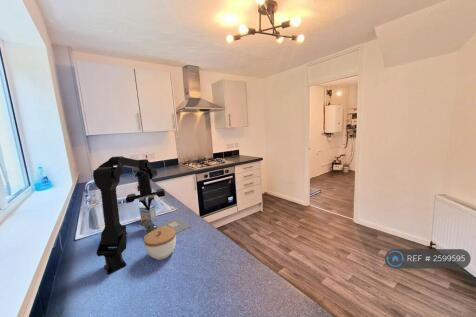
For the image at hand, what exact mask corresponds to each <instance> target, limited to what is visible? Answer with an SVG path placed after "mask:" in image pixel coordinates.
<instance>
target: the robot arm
mask: <svg viewBox="0 0 476 317" xmlns="http://www.w3.org/2000/svg"><path fill="white" fill-rule="evenodd" d="M124 168H129V169H130V168H131V170H133V171H136V173H135V174H134V177H135V178H137V184H138V185H137V191H138V192H139V194H136V193H131V194H130V193H129V194H127V195H126V197H125V203H126V204H128V203H134V202H135V200H138V202H139V203H142V206H143V205H144V206H145V207H146V209H147V210H148V211H149V210H150V205H151V204H152V201H153V200H155V197H158V198H161V197H165V196H166V191H165V189H164V188H160V189H159V188H158V189H156V191H153V189H152V186H151V185H152V184H151V180H152V179H154V178H156V177H157V176H158V171H157V169H155V168H154V166H152V164H151V162H150V161H149V159H145V158H144V159H134V158H129V157H124V156H123V155H120V156H119V155H118V156H112V157H110V158H109V159H108V160H106V161H105V162H103V163H102V164H100V165H99V166H98V167H97V168H96V169H95V170H94V171H93V172H92V178H93V181H94V185H95V186H96V187H97V188H98V189H99V191H100V195H101V196H100V197H101V202H102V203H101V204H102V211H103V212H102V213H103V219H104V228H103V230H102V232H101V234H100V242H99V244H98V247H97V250H96V252H95V253H96V256H98V257H103V258H104V262H105V264H104V266H103V268H104V269H105V272H106V274H107V275H111V274H112V273H114V272H116V271H118V270H120V269H122V268H124V267H126V266H127V262H126V261H125V260H124V258H123V253H124V252H125V250H127V242H128V237H127V236H128V232H127V226H126V224H125V225H124V224H121V223H120V215H119V214H120V213H119V206H118V205H119V204H118V195H117V187H118V185H119V183H120V180H121V179H120V176H121V175H122V174H123V172H124ZM151 206H152V205H151Z"/></svg>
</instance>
